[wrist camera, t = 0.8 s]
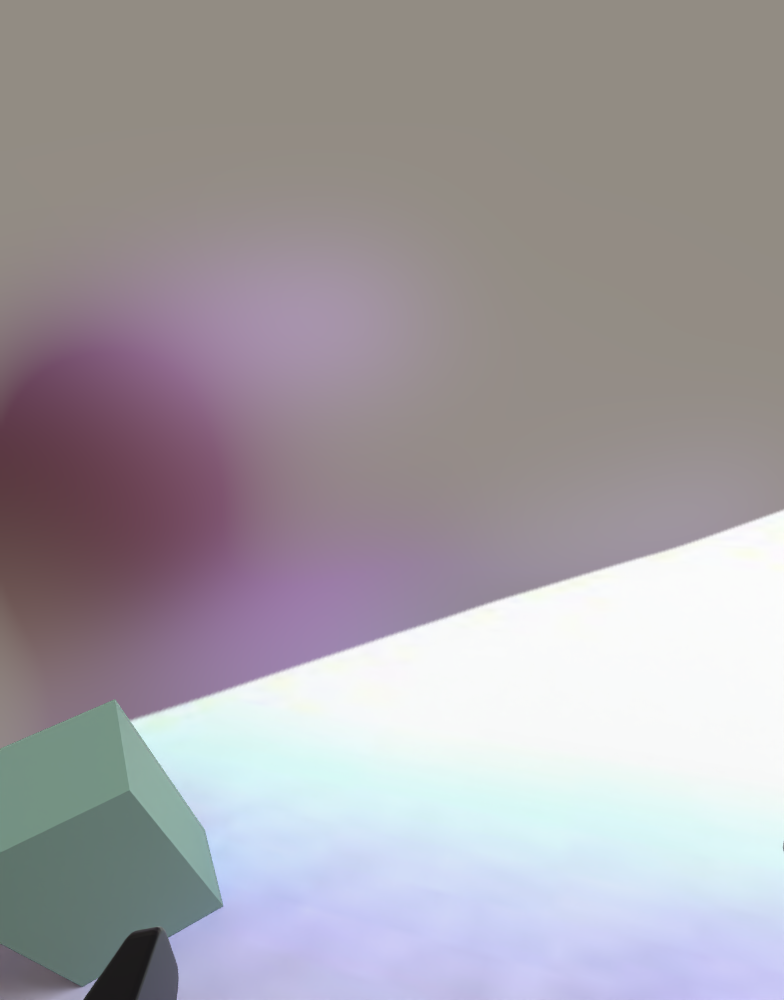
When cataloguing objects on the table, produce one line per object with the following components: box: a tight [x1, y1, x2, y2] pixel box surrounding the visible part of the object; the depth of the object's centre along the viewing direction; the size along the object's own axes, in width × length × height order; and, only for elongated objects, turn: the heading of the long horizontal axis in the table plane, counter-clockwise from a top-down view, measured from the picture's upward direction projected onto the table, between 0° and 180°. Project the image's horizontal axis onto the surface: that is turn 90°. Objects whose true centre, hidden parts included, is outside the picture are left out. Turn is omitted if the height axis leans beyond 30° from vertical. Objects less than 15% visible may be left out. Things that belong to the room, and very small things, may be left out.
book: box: [0, 700, 223, 987], centre depth 19 cm, size 3×5×10 cm, turn 117°
